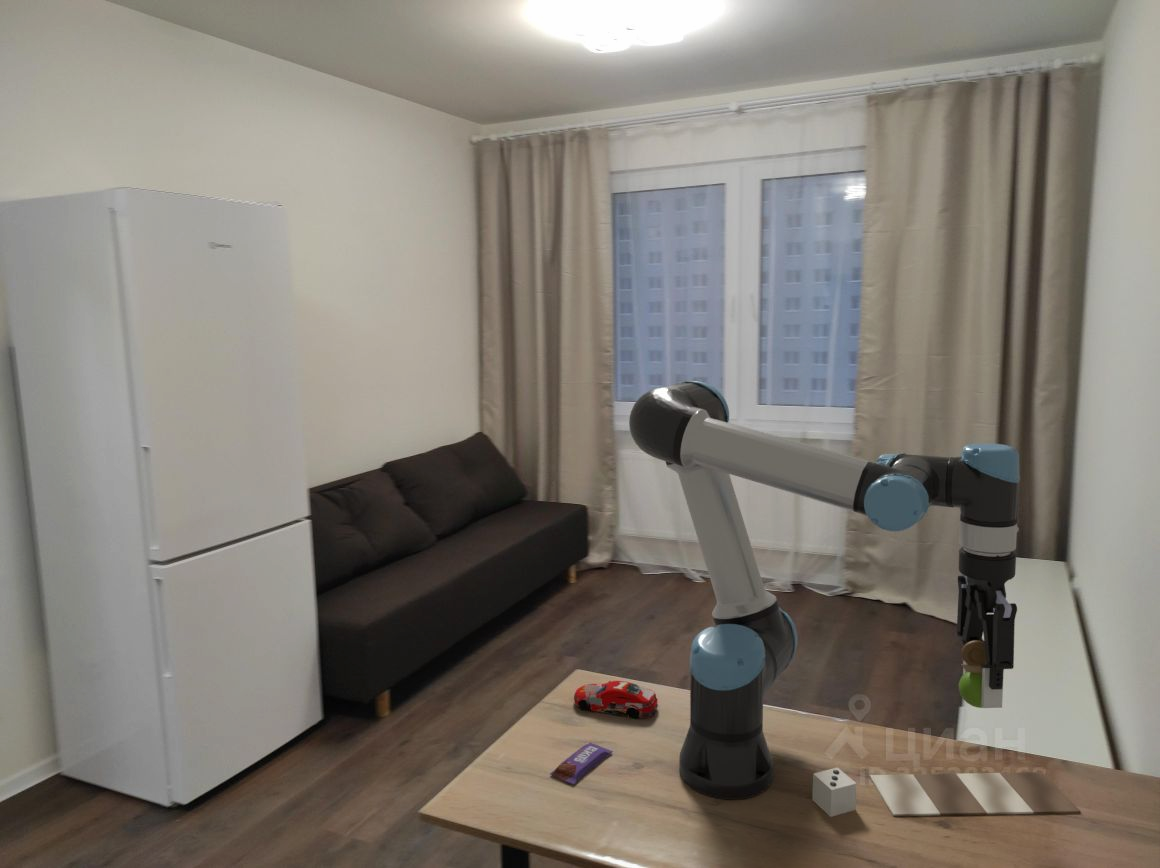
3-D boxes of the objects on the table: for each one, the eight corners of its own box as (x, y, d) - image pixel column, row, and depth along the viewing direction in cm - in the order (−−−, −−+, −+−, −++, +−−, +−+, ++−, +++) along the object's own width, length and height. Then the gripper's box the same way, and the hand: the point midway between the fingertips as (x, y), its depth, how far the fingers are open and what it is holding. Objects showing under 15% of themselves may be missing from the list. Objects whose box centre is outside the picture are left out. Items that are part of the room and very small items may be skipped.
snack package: (589, 737, 141) (613, 746, 138) (589, 747, 141) (613, 756, 138) (549, 768, 132) (573, 779, 129) (549, 779, 132) (573, 790, 129)
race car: (568, 710, 154) (568, 686, 153) (581, 694, 160) (580, 671, 159) (651, 724, 148) (650, 699, 147) (660, 706, 154) (660, 682, 153)
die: (830, 817, 120) (831, 789, 120) (812, 800, 125) (813, 772, 124) (855, 810, 122) (856, 782, 121) (836, 793, 126) (837, 766, 125)
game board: (893, 816, 120) (893, 814, 120) (869, 776, 130) (869, 775, 130) (1080, 812, 120) (1080, 811, 120) (1042, 773, 130) (1042, 772, 130)
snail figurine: (1009, 716, 118) (1013, 639, 117) (962, 713, 120) (965, 637, 118) (999, 698, 124) (1002, 624, 122) (954, 696, 125) (956, 622, 123)
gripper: (1047, 568, 109) (1039, 727, 112) (983, 531, 127) (978, 669, 131) (991, 570, 109) (985, 728, 113) (935, 532, 127) (931, 670, 131)
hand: (981, 696), depth 122 cm, fingers closed on snail figurine, 5 cm apart
